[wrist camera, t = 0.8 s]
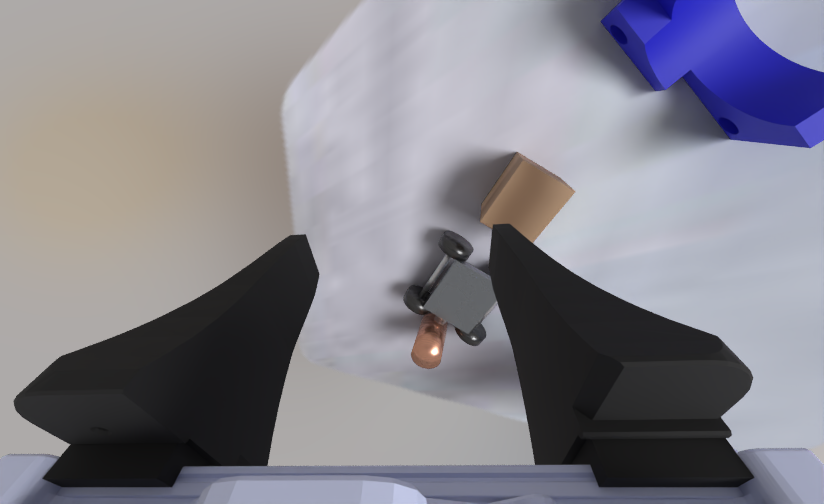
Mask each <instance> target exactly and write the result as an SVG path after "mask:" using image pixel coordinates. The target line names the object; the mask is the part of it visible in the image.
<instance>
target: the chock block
mask: <svg viewBox="0 0 824 504" xmlns="http://www.w3.org/2000/svg"><path fill="white" fill-rule="evenodd" d="M574 193H575V191H574V190H573V189H572V188H571V187H570V186H569V185H568V184H566V183H565V182H564V181H563V180H562V179H561V178H560V177H558V176H556V175H555V174H553V173H551V172H550V171H548V170H546V169H545V168H543V167H541V166H540V165H538V164H536V163H535V162H533V161H531V160H530V159H528V158H526V157H525V156H523V155H521V154H520V153H518V152H517V153H516V154H515V155H514V157H513V158H512V160H511V161H510V163H509V164H508V166H507V167H506V169H505V170H504V172H503V173H502V175H501V176H500V178H499V179H498V180H497V182H496V183H495V185H494V186H493V188H492V189H491V191H490V192H489V194H488V195H487V197H486V198H485V200H484V201H483V203H482V205H481V217H480V222H481V223H483V224H485V225H486V226H488V227H490V228H491V229H492V228H493V224H511V225H512V226H513V227H514V228H516V229H517V230H518V231H519V232H520V233H521V234H522V235H524V236H525V237H526V238H527V239H528V240H530V241H531V242H532V243H533V242H534V241H535V239H536V238H537V237H538V236H539V235H540V233H541V232H542V231H543V230H544V229H545V227H546V226H547V225H548V224H549V223H550V221H551V220H552V219H553V218H554V217H555V215H556V214H557V213H558V212H559V211H560V209H561V208H562V207H563V206H564V205H565V203H566V202H567V201H568V200H569V199H570V197H571V196H572V195H573V194H574Z"/></svg>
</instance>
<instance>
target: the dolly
mask: <svg viewBox="0 0 824 504" xmlns="http://www.w3.org/2000/svg"><path fill="white" fill-rule="evenodd" d="M438 244H439V246H440V248H441V249H442V250H443V251H444V252H445V253H446V255H445V257H444V258H443V260H442V261H441V263H440V264H439V266H438V267H437V269H436V270H435V272H434V273H433V274H432V276H431V277H430V279H429V280H428V282H427V283H426V285H425V286H424V288H422V287H420V286H415V285H414V286H410V287H409V288H408V290H407V292H406V293H405V295H404V297H403V300H404V303H405V304H406V306H407V307H408V308H409V309H410V310H411V311H413V312H415V313H417V314H420V315H425V314H428V313H429V311H430V312H431V313H433V314H435V315H436V316H438V317H440V318H441V319H443V320H445V321H447V322H448V323H450V324H452V325H453V326H455V330H456V332H457V334H458V336H459V337H460V338H461V339H462V340H463V341H464V342H466V343H467V344H469V345H472V346H478V345H479V344H480V343H481V342H482V341H483V340H484V339H485V337H486V331H485V329H484V327H483V326H482V324H481V322H482V321H483V320H484V319H485V318H486V317H487V315H488V314H489V313H490V312H491V311H492V310H493V309H494V307H495V306H496V305H497V304H498V303H497V300H496V297H495V294H494V291H493V287H492V282H491V277H490V276H489V275H488V274H486V273H484V272H483V271H481V270H479V269H477V268H476V267H474V266H472V265H471V264H469V263H467V262H466V260H467V259H468V258H469V256H470V255H471V253H472V252H473V247H472V245H471V244H470V243H469V242H468V241H467V240H466V239H465V238H463V237H462V236H460V235H458V234H456V233H454V232H451V231H446V232H444V234H443V236H442V237H441V239H440V240H439V242H438ZM451 258H453V259H455V260H454V261H453V263H452V264H451V266H450V267H449V268H448V270H447V271H446V273H445V274H444V276H443V277H442V278H441V280H440V281H439V283H438V284H437V286H436V287H435V288H434V290H433V291H432V293H431V294H430V293H429V292H428V291H429V290H430V289H431V287H432V286H433V284H434V283H435V281H436V280H437V278H438V277H439V276H440V274H441V273H442V271H443V270H444V268H445V267H446V265H447V264H448V263H449V261H450V260H451Z"/></svg>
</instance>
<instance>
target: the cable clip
mask: <svg viewBox="0 0 824 504" xmlns="http://www.w3.org/2000/svg"><path fill="white" fill-rule="evenodd" d="M601 23H602V24H603V25H604V26H605V28H606V29H607V30H608V31H609V33H610V34H611V35H612V36H613V38H614V39H615V40H616V42H617V43H618V44H619V45H620V47H621V48H622V49H623V50H624V52H625V53H626V54H627V56H628V57H629V58H630V59H631V61H632V62H633V63H634V64H635V66H636V67H637V68H638V69H639V71H640V72H641V73H642V75H643V76H644V77H645V78H646V80H647V81H648V82H649V83H650V85H651V86H652V87H653V88H654V90H655V91H661V90H666V89H667V88H669V87H670V86H671V85H672V84H673V83H675V82H676V81H677V80H678V79H680V78H681V77H683V78H684V79H685V81H686V82H687V83H688V85H689V86H690V87H691V89H692V90H693V91H694V92H695V94H696V95H697V96H698V98H699V99H700V100H701V102H702V103H703V104H704V106H705V107H706V108H707V109H708V111H709V112H710V113H711V115H712V116H713V117H714V119H715V120H716V121H717V123H718V124H719V125H720V126H721V128H722V129H723V130H724V132H725V133H726V134H727V136H728V137H729V138H730V139H731V140H740V141H749V142H759V143H768V144H777V145H787V146H796V147H806V148H811V147H813V146H815V145H816V144H818V143H820V142H821V141H823V140H824V72H820V71H816V70H813V69H809V68H807V67H804V66H801V65H799V64H797V63H794V62H792V61H790V60H788V59H786V58H785V57H783V56H781V55H780V54H778V53H776V52H775V51H773V50H772V49H771V48H769V47H768V46H767V45H766V44H764V43H763V42H762V41H761V40H760V39H759V38H758V37H757V36H756V35H755V34H754V33H753V32H752V30H751V29H750V28H749V27H748V25H747V24H746V22H745V21H744V19H743V18H742V16H741V14H740V12H739V10H738V8H737V5H736V2H735V0H622V1H621V2H620V3H619V4H618V5H617V6H616V7H615V8H614V9H613V10H612V11H611V12H610V13H609V14H608V15H607V16H606V17H605V18H604V19H603V20H602V21H601Z"/></svg>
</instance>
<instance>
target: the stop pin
mask: <svg viewBox="0 0 824 504" xmlns="http://www.w3.org/2000/svg"><path fill="white" fill-rule="evenodd" d="M446 331H447V321H445V320H443V319H441V318H440V317H438V316H436V315H435V314H433V313H429V314H426V315H425V316H424V317H423V318H422V321H421V324H420V327H419V331H418V334H417V337H416V340H415V343H414V346H413V349H412V352H411V357H412V360H413V361H414V362H415V363H416V364H417V365H418V366H420V367H422V368H427V369H431V368H435V367H437V366H438V365H439V364H440V362H441V357H442V352H443V346H444V341H445V336H446Z"/></svg>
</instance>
